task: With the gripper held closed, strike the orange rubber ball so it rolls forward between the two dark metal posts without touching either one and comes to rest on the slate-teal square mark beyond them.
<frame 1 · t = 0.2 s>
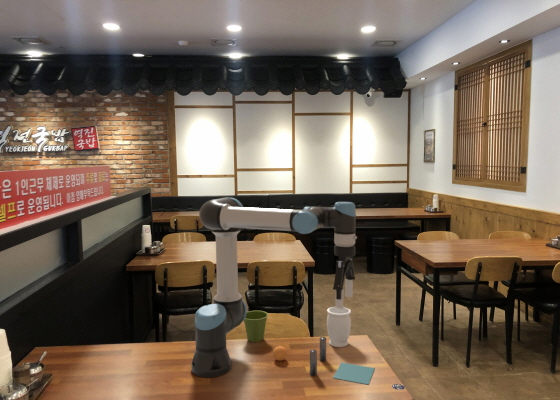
hand: (344, 302, 156), 28 cm above the table, tool pointing down, fingers open, 13 cm apart
post 1: (313, 374, 159), on the table
post 2: (322, 359, 170), on the table
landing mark: (354, 373, 159), on the table
ball: (279, 353, 170), on the table
jar: (338, 344, 186), on the table
plant pot: (255, 339, 191), on the table
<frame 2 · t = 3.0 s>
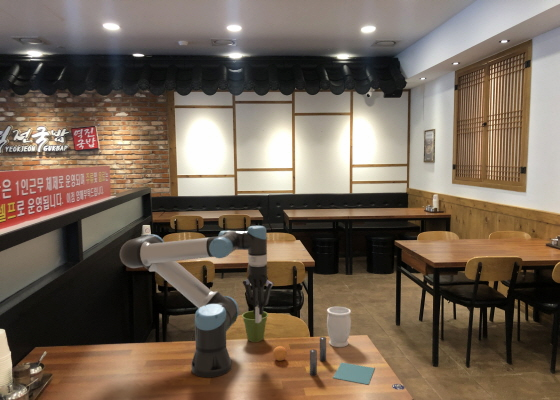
hand: (258, 321, 173), 14 cm above the table, tool pointing down, fingers closed
nothing on the table moved.
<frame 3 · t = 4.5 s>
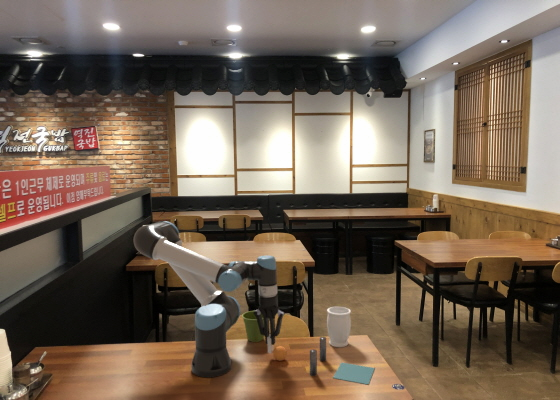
hand: (270, 351, 172), 3 cm above the table, tool pointing down, fingers closed
nothing on the table moved.
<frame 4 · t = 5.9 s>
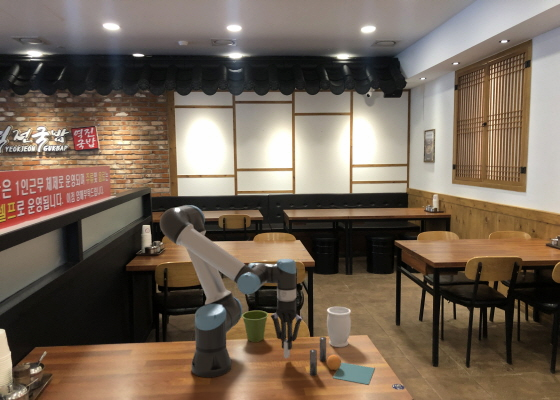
hand: (286, 356, 169), 2 cm above the table, tool pointing down, fingers closed
ball: (334, 362, 162), on the table
everything else where it was.
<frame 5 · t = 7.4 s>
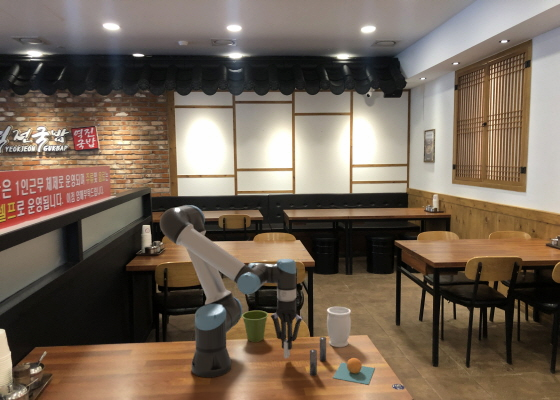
hand: (286, 356, 169), 2 cm above the table, tool pointing down, fingers closed
ball: (354, 365, 159), on the table
everything else where it was.
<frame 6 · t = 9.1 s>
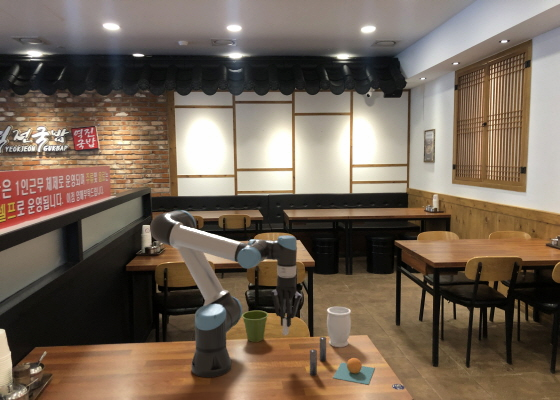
hand: (285, 333, 169), 11 cm above the table, tool pointing down, fingers closed
nothing on the table moved.
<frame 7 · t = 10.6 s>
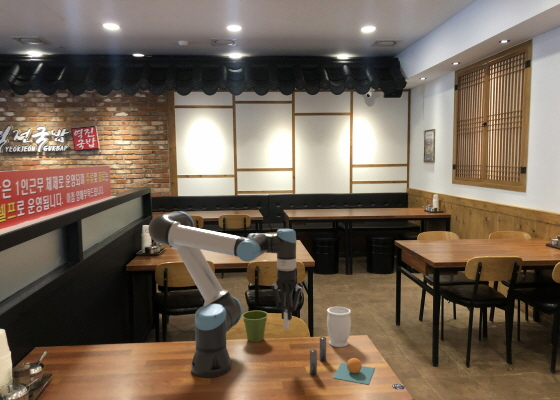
hand: (286, 327, 168), 14 cm above the table, tool pointing down, fingers closed
nothing on the table moved.
at the end: ball 0.4 cm from the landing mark (horizontally); ball never touched post 2; ball never touched post 1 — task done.
